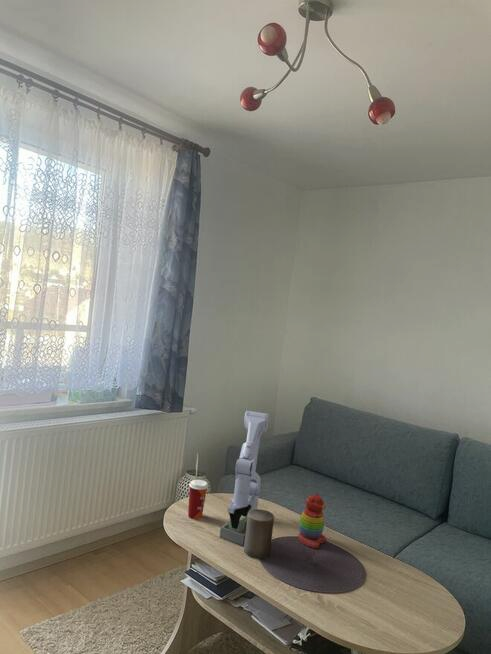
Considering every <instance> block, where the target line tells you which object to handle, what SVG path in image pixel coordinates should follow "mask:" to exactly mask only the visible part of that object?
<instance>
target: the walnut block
mask: <svg viewBox="0 0 491 654" xmlns="http://www.w3.org/2000/svg"><path fill="white" fill-rule="evenodd" d="M246 526H247V516H246V519H245V528H244V530H243V531H242V532H241V533H242V534H245V533H246Z"/></svg>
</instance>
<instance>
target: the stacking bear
mask: <svg viewBox="0 0 491 654" xmlns="http://www.w3.org/2000/svg"><path fill="white" fill-rule="evenodd" d="M305 507H306V508H304V510H303V511H302V513H301V516H300V518H299V534H298V537H297V539H298V541H299V542H300V543H301V544H305V545H304V546H306V545H307V546H306V547H308V546H310V547H312V548H311V549H313V548H317V549H319V548H320V543H321V544H324V543H323V542H325V543H326V542H327V537H326V536H325V535H324V534H323V531H324V527H325V521H324V512H323V511H324V509H325V508H326V504H325V502H324V500H323V498H322V497H321V496H320V495H319V493H315V494H311V495H309V496H308V497H307V498H306V500H305ZM310 547H309V548H310ZM318 547H319V548H318Z"/></svg>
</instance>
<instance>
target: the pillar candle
mask: <svg viewBox="0 0 491 654" xmlns="http://www.w3.org/2000/svg"><path fill="white" fill-rule="evenodd" d="M274 521H275V515H274V513H272V512H270V511H268V510H266V509H265V510H264V509H258V508H257V509H255V510H251V511H249V512H248V517H247V526H246V534H245V543H244V546H243V552H244V553H245V555H246V556H248V557H250V558H254V559H266V558H268V557H269V556H271V548H272V547H271V546H272V538H273V530H274Z"/></svg>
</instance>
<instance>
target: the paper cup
mask: <svg viewBox="0 0 491 654" xmlns="http://www.w3.org/2000/svg"><path fill="white" fill-rule="evenodd" d="M188 486H189V495H188V510H187V511H188V512H187V513H188V514H187V517H189V519H192V520H199V519H202V517H203V511H204V506H205V501H206V495H207V491H208V488H209V485H208V483H207V481H205V480H204V479H203V480H202V479H193V480H191V481H190V483H189V484H188Z"/></svg>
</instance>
